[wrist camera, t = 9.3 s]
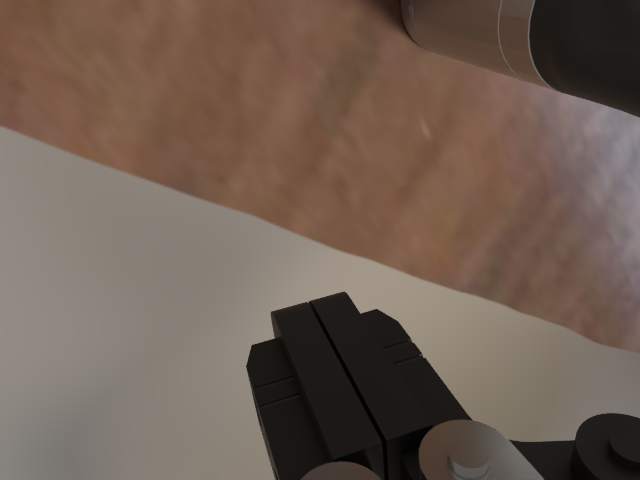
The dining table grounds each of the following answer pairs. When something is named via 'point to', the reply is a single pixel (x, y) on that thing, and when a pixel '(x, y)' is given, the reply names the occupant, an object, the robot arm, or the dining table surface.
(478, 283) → the dining table surface
